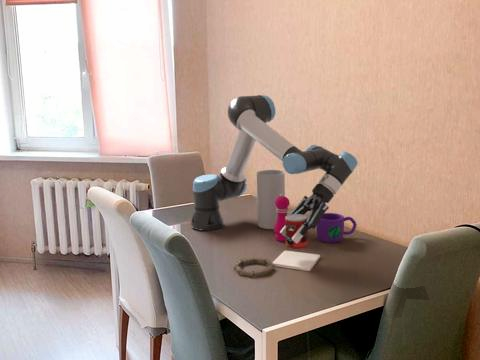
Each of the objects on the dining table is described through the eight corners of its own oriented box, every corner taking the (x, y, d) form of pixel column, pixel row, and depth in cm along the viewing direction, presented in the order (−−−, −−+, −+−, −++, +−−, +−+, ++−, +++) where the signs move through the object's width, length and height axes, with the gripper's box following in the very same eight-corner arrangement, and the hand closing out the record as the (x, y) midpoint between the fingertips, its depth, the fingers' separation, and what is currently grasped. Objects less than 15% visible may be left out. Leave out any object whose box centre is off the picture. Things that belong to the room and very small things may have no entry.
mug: (321, 245, 189) (322, 221, 187) (312, 236, 200) (312, 213, 198) (362, 241, 192) (362, 217, 190) (350, 232, 203) (350, 210, 201)
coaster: (271, 265, 169) (271, 263, 169) (284, 252, 182) (284, 250, 181) (309, 271, 163) (309, 268, 163) (320, 257, 176) (320, 254, 176)
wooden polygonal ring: (228, 273, 164) (228, 269, 163) (244, 260, 175) (244, 256, 175) (264, 278, 158) (264, 274, 158) (277, 264, 170) (277, 260, 170)
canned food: (283, 243, 175) (283, 214, 172) (305, 241, 175) (304, 213, 173) (287, 250, 167) (287, 220, 165) (309, 248, 168) (309, 219, 166)
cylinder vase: (254, 228, 213) (252, 174, 208) (263, 220, 224) (262, 169, 219) (280, 231, 208) (279, 175, 203) (288, 223, 220) (287, 170, 214)
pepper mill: (290, 242, 193) (290, 195, 189) (272, 241, 195) (272, 194, 191) (292, 236, 200) (291, 191, 196) (275, 236, 202) (274, 190, 198)
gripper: (305, 177, 180) (268, 224, 177) (336, 187, 161) (296, 240, 158) (316, 189, 183) (281, 235, 180) (349, 200, 165) (309, 252, 162)
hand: (288, 237), depth 169 cm, fingers closed on canned food, 8 cm apart
